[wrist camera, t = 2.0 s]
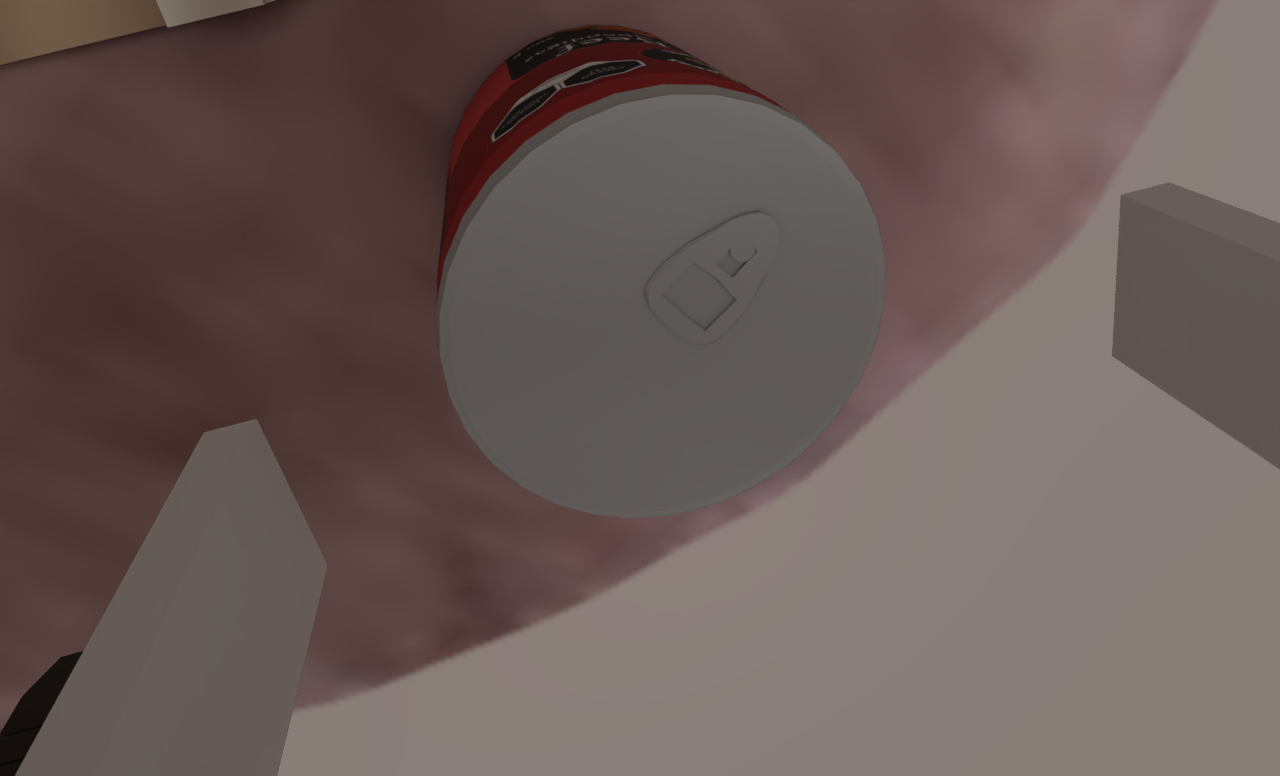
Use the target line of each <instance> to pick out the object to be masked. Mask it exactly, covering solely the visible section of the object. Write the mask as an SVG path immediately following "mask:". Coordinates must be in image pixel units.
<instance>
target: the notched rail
mask: <svg viewBox="0 0 1280 776" xmlns="http://www.w3.org/2000/svg"><path fill="white" fill-rule="evenodd" d="M272 1H275V0H0V65H2V64H6V63H10V62H14V61H18V60H23V59H27V58H31V57H35V56H39V55H43V54H48V53H52V52H56V51H60V50H64V49H69V48H73V47H77V46H81V45H85V44H89V43H94V42H98V41H102V40H106V39H110V38H114V37H119V36H123V35H127V34H131V33H135V32H140V31H144V30H148V29H152V28H156V27H160V26H165V25H167V27H168V28H169V27H173V26H177V25H181V24H185V23H190V22H194V21H198V20H202V19H206V18H210V17H215V16H219V15H223V14H227V13H231V12H235V11H240V10H244V9H248V8H252V7H256V6H260V5H264V4H267V3H270V2H272Z"/></svg>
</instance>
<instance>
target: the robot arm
mask: <svg viewBox="0 0 1280 776" xmlns="http://www.w3.org/2000/svg"><path fill="white" fill-rule="evenodd" d="M1116 276H1117V277H1116V294H1115V312H1114V313H1115V314H1114V331H1113V349H1112V356H1113V357H1114V358H1116V359H1117V360H1119V361H1121V362H1122V363H1123V364H1125V365H1126V366H1128V367H1129V368H1131V369H1132V370H1134V371H1135V372H1137V373H1138V374H1140V375H1141V376H1143V377H1144V378H1145V379H1147V380H1148V381H1150V382H1151V383H1153V384H1155V385H1156V386H1157V387H1159V388H1160V389H1162V390H1163V391H1165V392H1166V393H1168V394H1169V395H1171V396H1172V397H1174V398H1175V399H1177V400H1178V401H1179V402H1181V403H1182V404H1184V405H1185V406H1187V407H1188V408H1190V409H1191V410H1193V411H1194V412H1196V413H1197V414H1199V415H1200V416H1202V417H1203V418H1205V419H1206V420H1208V421H1209V422H1211V423H1212V424H1214V425H1215V426H1216V427H1218V428H1219V429H1221V430H1222V431H1224V432H1225V433H1227V434H1228V435H1230V436H1232V437H1233V438H1234V439H1236V440H1237V441H1239V442H1240V443H1242V444H1243V445H1245V446H1246V447H1248V448H1249V449H1250V450H1252V451H1253V452H1255V453H1257V454H1258V455H1259V456H1261V457H1262V458H1264V459H1265V460H1267V461H1268V462H1270V463H1271V464H1273V465H1274V466H1276V467H1277V468H1279V469H1280V223H1278V222H1275V221H1272V220H1270V219H1267V218H1264V217H1261V216H1258V215H1256V214H1253V213H1251V212H1248V211H1245V210H1242V209H1240V208H1237V207H1234V206H1232V205H1229V204H1226V203H1223V202H1220V201H1218V200H1215V199H1212V198H1209V197H1207V196H1204V195H1202V194H1199V193H1196V192H1194V191H1191V190H1188V189H1185V188H1183V187H1180V186H1177V185H1175V184H1172V183H1165V184H1162V185H1158V186H1154V187H1150V188H1146V189H1142V190H1138V191H1134V192H1131V193H1127V194H1123V195H1121V201H1120V220H1119V238H1118V257H1117V275H1116ZM327 566H328V565H327V563H326V561H325V559H324V557H323V555H322V553H321V550H320V548H319V546H318V544H317V542H316V540H315V538H314V536H313V534H312V532H311V530H310V528H309V526H308V524H307V522H306V520H305V518H304V515H303V513H302V511H301V509H300V507H299V505H298V503H297V501H296V499H295V497H294V495H293V493H292V491H291V489H290V487H289V485H288V483H287V480H286V478H285V476H284V474H283V472H282V470H281V468H280V466H279V464H278V462H277V460H276V458H275V456H274V454H273V452H272V450H271V448H270V445H269V443H268V441H267V439H266V437H265V435H264V433H263V431H262V429H261V427H260V425H259V423H258V421H257V419H254V420H250V421H246V422H242V423H238V424H234V425H231V426H227V427H223V428H219V429H215V430H211V431H207V432H204V433H203V435H202V437H201V438H200V440H199V442H198V444H197V446H196V448H195V449H194V451H193V453H192V455H191V457H190V458H189V460H188V462H187V464H186V466H185V468H184V469H183V471H182V473H181V475H180V477H179V478H178V480H177V482H176V484H175V486H174V487H173V489H172V491H171V493H170V495H169V497H168V498H167V500H166V502H165V504H164V506H163V507H162V509H161V511H160V513H159V515H158V517H157V518H156V520H155V522H154V524H153V526H152V527H151V529H150V531H149V533H148V535H147V537H146V538H145V540H144V542H143V544H142V546H141V547H140V549H139V551H138V553H137V555H136V557H135V558H134V560H133V562H132V564H131V566H130V567H129V569H128V571H127V573H126V575H125V576H124V578H123V580H122V582H121V584H120V586H119V587H118V589H117V591H116V593H115V595H114V596H113V598H112V600H111V602H110V604H109V606H108V607H107V609H106V611H105V613H104V615H103V616H102V618H101V620H100V622H99V624H98V626H97V627H96V629H95V631H94V633H93V635H92V636H91V638H90V640H89V642H88V644H87V645H86V647H85V649H84V651H82V652H78V653H74V654H71V655H67V656H63V657H61V658H60V659H59V660H58V661H57V662H56V663H55V664H54V665H53V666H52V667H51V668H50V669H49V670H48V671H47V672H46V673H45V674H44V675H43V676H42V677H41V678H40V679H39V680H38V681H37V682H36V683H35V684H34V685H33V686H32V687H31V688H30V689H29V690H28V691H27V692H26V693H25V694H24V695H23V696H22V698H21V699H20V701H19V703H18V704H17V706H16V708H15V709H14V711H13V713H12V714H11V716H10V718H9V719H8V721H7V723H6V724H5V726H4V728H3V729H2V731H1V733H0V776H277V774H278V769H279V765H280V761H281V757H282V753H283V749H284V745H285V740H286V736H287V732H288V728H289V724H290V720H291V715H292V711H293V707H294V703H295V699H296V695H297V691H298V686H299V682H300V678H301V674H302V670H303V666H304V662H305V657H306V653H307V649H308V645H309V641H310V637H311V632H312V628H313V624H314V620H315V616H316V612H317V608H318V603H319V599H320V595H321V591H322V587H323V583H324V578H325V574H326V570H327Z"/></svg>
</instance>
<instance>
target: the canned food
mask: <svg viewBox="0 0 1280 776" xmlns="http://www.w3.org/2000/svg"><path fill="white" fill-rule="evenodd" d="M884 300H885V258H884V253H883V248H882V243H881V237H880V232H879V227H878V222H877V220H876V218H875V215H874V213H873V211H872V208H871V206H870V204H869V202H868V199H867V197H866V195H865V192H864V190H863V188H862V186H861V184H860V183H859V181H858V180H857V179H856V177H855V176H854V175H853V174H852V172H851V171H850V170H849V168H848V167H847V166H846V164H845V163H844V162H843V160H842V159H841V158H840V156H839V155H838V154H837V152H836V151H834V150H833V149H832V147H831V146H830V145H829V143H828V142H827V141H826V140H825V139H823V138H822V137H821V136H820V135H818V134H817V133H816V132H815V131H814V130H812V129H811V128H810V127H809V126H808V125H806V124H805V123H804V122H803V121H801V120H800V119H799V118H798V117H797V116H795V115H794V114H792V113H791V112H789V111H787V110H785V109H784V108H782V107H781V106H780V105H778V104H777V103H776V102H775V101H773V100H771V99H769V98H767V97H766V96H764V95H762V94H760V93H758V92H757V91H755V90H753V89H751V88H749V87H748V86H746V85H744V84H742V83H740V82H739V81H737V80H735V79H733V78H731V77H730V76H728V75H726V74H724V73H722V72H721V71H719V70H717V69H715V68H713V67H712V66H710V65H708V64H706V63H704V62H703V61H701V60H699V59H697V58H696V57H694V56H692V55H690V54H688V53H687V52H685V51H683V50H681V49H679V48H678V47H676V46H674V45H672V44H670V43H668V42H666V41H664V40H662V39H660V38H658V37H656V36H654V35H652V34H650V33H646V32H642V31H638V30H634V29H630V28H625V27H621V26H585V27H579V28H574V29H569V30H564V31H559V32H557V33H554V34H552V35H550V36H547V37H545V38H542V39H540V40H538V41H535V42H533V43H530V44H529V45H528V46H526V47H525V48H523V49H522V50H520V51H519V52H517V53H516V54H514V55H513V56H511V57H510V58H508V59H507V60H506V61H504V62H503V63H502V64H501V65H500V66H499V67H498V68H497V69H496V70H495V71H494V72H493V74H492V75H491V76H490V77H489V78H488V79H487V80H486V81H485V82H484V83H483V84H482V85H481V87H480V88H479V90H478V91H477V93H476V95H475V96H474V98H473V99H472V101H471V102H470V104H469V105H468V107H467V108H466V110H465V112H464V115H463V117H462V120H461V122H460V125H459V127H458V130H457V132H456V135H455V137H454V142H453V147H452V152H451V158H450V163H449V169H448V179H447V188H446V198H445V208H444V218H443V228H442V237H441V247H440V257H439V267H438V277H437V346H438V350H439V354H440V359H441V364H442V368H443V372H444V376H445V380H446V384H447V388H448V392H449V396H450V399H451V401H452V403H453V405H454V407H455V409H456V411H457V413H458V415H459V417H460V419H461V421H462V423H463V425H464V427H465V429H466V431H467V433H468V435H469V436H470V437H471V438H472V439H473V441H474V442H475V443H476V444H477V446H478V447H479V448H480V449H481V451H482V452H483V453H484V454H485V455H486V457H487V458H488V459H489V460H490V462H491V463H492V464H494V465H495V466H496V467H497V468H499V469H500V470H501V471H502V472H504V473H505V474H506V475H507V476H509V477H510V478H511V479H512V480H514V481H515V482H516V483H517V484H519V485H520V486H521V487H523V488H525V489H527V490H529V491H531V492H533V493H535V494H537V495H539V496H541V497H543V498H545V499H546V500H548V501H550V502H552V503H554V504H557V505H561V506H564V507H568V508H571V509H575V510H578V511H582V512H585V513H589V514H593V515H603V516H613V517H623V518H640V517H654V516H669V515H673V514H677V513H682V512H686V511H690V510H695V509H699V508H703V507H707V506H710V505H712V504H715V503H717V502H720V501H722V500H725V499H727V498H730V497H732V496H735V495H737V494H740V493H742V492H744V491H746V490H748V489H750V488H751V487H753V486H755V485H756V484H758V483H760V482H761V481H763V480H765V479H766V478H768V477H770V476H771V475H773V474H775V473H776V472H778V471H780V470H781V469H782V468H783V467H785V466H786V465H787V464H788V463H789V462H791V461H792V460H793V459H794V458H796V457H797V456H798V455H799V454H800V453H802V452H803V451H804V450H805V449H806V448H808V447H809V446H810V445H811V444H812V443H813V442H814V441H815V440H816V439H817V437H818V436H819V435H820V434H821V433H822V432H823V431H824V430H825V428H826V427H827V426H828V425H829V424H830V423H831V422H832V421H833V419H834V418H835V417H836V416H837V415H838V414H839V412H840V411H841V409H842V407H843V406H844V404H845V403H846V401H847V399H848V398H849V396H850V395H851V393H852V392H853V390H854V388H855V387H856V385H857V384H858V382H859V381H860V379H861V376H862V374H863V371H864V369H865V367H866V364H867V362H868V360H869V357H870V355H871V352H872V350H873V348H874V345H875V343H876V339H877V334H878V330H879V325H880V321H881V316H882V311H883V307H884Z"/></svg>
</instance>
